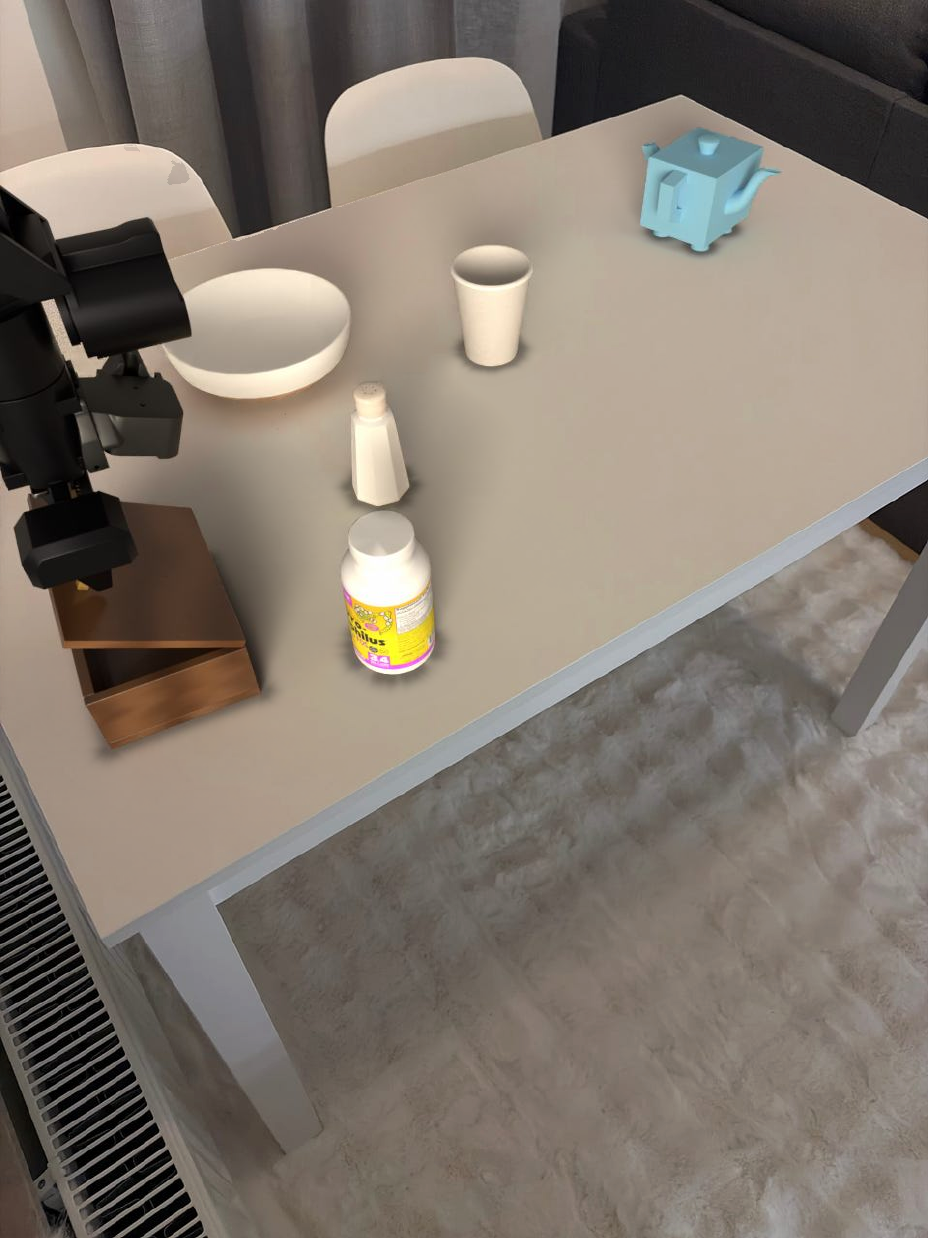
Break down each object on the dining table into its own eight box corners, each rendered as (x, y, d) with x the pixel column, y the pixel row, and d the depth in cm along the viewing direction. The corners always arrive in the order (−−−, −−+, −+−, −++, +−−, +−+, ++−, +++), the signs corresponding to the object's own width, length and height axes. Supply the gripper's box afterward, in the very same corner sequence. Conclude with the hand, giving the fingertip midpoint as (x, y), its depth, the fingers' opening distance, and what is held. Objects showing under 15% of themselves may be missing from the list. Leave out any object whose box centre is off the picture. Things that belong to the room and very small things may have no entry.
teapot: (669, 188, 122) (682, 97, 114) (791, 230, 115) (816, 136, 106) (599, 235, 115) (609, 141, 106) (725, 283, 107) (746, 187, 98)
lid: (62, 649, 59) (76, 591, 56) (26, 500, 68) (37, 444, 65) (243, 647, 67) (264, 597, 64) (189, 513, 76) (205, 464, 73)
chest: (111, 749, 68) (85, 705, 64) (74, 606, 77) (49, 559, 73) (261, 693, 71) (245, 647, 67) (208, 561, 80) (192, 513, 76)
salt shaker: (348, 506, 84) (332, 409, 76) (356, 467, 88) (341, 370, 79) (406, 507, 84) (397, 410, 76) (412, 468, 87) (404, 371, 79)
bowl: (135, 390, 96) (117, 339, 92) (252, 300, 107) (241, 250, 102) (283, 448, 90) (272, 397, 85) (392, 347, 100) (387, 296, 96)
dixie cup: (525, 376, 96) (528, 289, 89) (447, 370, 97) (443, 284, 90) (533, 331, 102) (537, 246, 94) (459, 326, 103) (457, 240, 95)
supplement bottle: (338, 639, 74) (315, 526, 64) (405, 601, 77) (392, 486, 67) (384, 692, 71) (367, 582, 61) (452, 650, 73) (447, 537, 63)
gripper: (191, 426, 50) (244, 613, 62) (120, 266, 61) (177, 451, 73) (-24, 485, 47) (75, 669, 59) (-58, 305, 58) (32, 491, 70)
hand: (96, 559), depth 65 cm, fingers closed on lid, 6 cm apart
